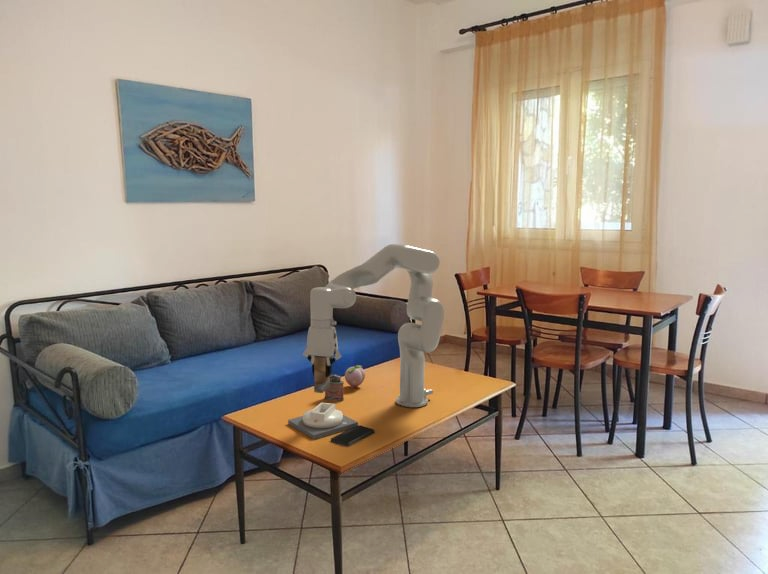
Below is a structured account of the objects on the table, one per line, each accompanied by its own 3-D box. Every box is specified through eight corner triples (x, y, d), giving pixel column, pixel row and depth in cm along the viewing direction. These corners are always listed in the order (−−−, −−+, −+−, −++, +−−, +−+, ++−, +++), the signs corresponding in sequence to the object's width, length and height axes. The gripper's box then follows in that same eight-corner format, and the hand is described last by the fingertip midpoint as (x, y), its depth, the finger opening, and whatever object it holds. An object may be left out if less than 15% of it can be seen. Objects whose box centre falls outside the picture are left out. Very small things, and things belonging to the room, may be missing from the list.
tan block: (331, 387, 193) (331, 354, 192) (323, 393, 187) (323, 359, 185) (320, 386, 195) (320, 353, 193) (312, 392, 188) (312, 358, 186)
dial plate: (331, 412, 205) (331, 408, 204) (357, 426, 192) (357, 421, 191) (288, 423, 194) (288, 419, 193) (313, 439, 180) (313, 434, 180)
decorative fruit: (351, 382, 240) (351, 360, 238) (367, 385, 236) (368, 363, 235) (340, 389, 231) (340, 366, 230) (357, 391, 228) (357, 368, 227)
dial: (312, 411, 201) (312, 399, 200) (348, 415, 197) (348, 403, 196) (295, 425, 188) (295, 413, 187) (334, 430, 184) (334, 417, 183)
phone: (376, 430, 187) (347, 444, 175) (376, 433, 187) (347, 448, 175) (358, 424, 191) (329, 438, 179) (358, 427, 191) (329, 442, 179)
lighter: (345, 398, 219) (345, 374, 218) (341, 401, 216) (341, 377, 215) (326, 396, 222) (326, 372, 221) (323, 399, 219) (322, 375, 218)
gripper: (348, 323, 189) (348, 374, 191) (303, 320, 193) (304, 370, 196) (340, 327, 182) (340, 380, 184) (294, 324, 186) (295, 376, 189)
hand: (322, 374), depth 190 cm, fingers closed on tan block, 4 cm apart
